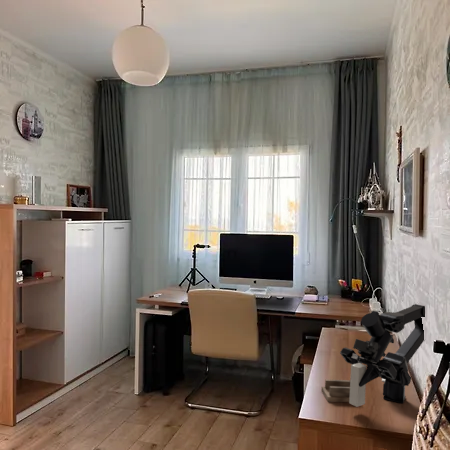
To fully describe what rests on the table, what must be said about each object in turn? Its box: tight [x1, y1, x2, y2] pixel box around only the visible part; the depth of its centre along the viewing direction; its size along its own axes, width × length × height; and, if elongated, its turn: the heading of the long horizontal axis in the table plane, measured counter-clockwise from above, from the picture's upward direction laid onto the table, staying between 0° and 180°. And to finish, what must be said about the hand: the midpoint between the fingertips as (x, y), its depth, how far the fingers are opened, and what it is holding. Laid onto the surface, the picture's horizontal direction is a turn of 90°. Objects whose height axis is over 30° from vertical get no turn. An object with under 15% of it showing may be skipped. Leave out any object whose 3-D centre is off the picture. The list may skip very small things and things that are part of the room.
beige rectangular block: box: [348, 363, 367, 408], centre depth 139 cm, size 4×3×12 cm
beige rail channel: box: [320, 378, 350, 403], centre depth 151 cm, size 11×9×4 cm
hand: (355, 384), depth 138 cm, fingers closed on beige rectangular block, 3 cm apart
